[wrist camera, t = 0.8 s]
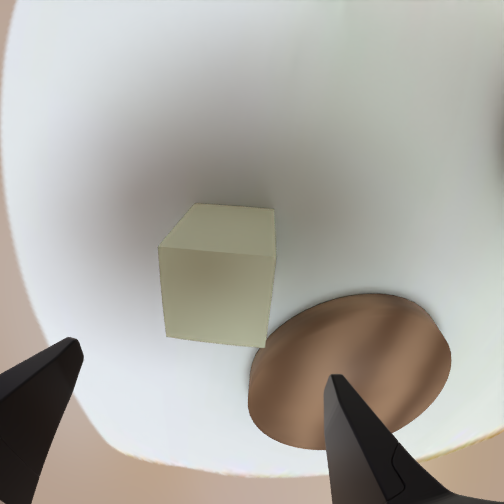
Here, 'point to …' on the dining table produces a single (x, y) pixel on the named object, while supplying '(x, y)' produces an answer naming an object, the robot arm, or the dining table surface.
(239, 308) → the sage block
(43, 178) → the dining table surface
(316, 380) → the walnut base
